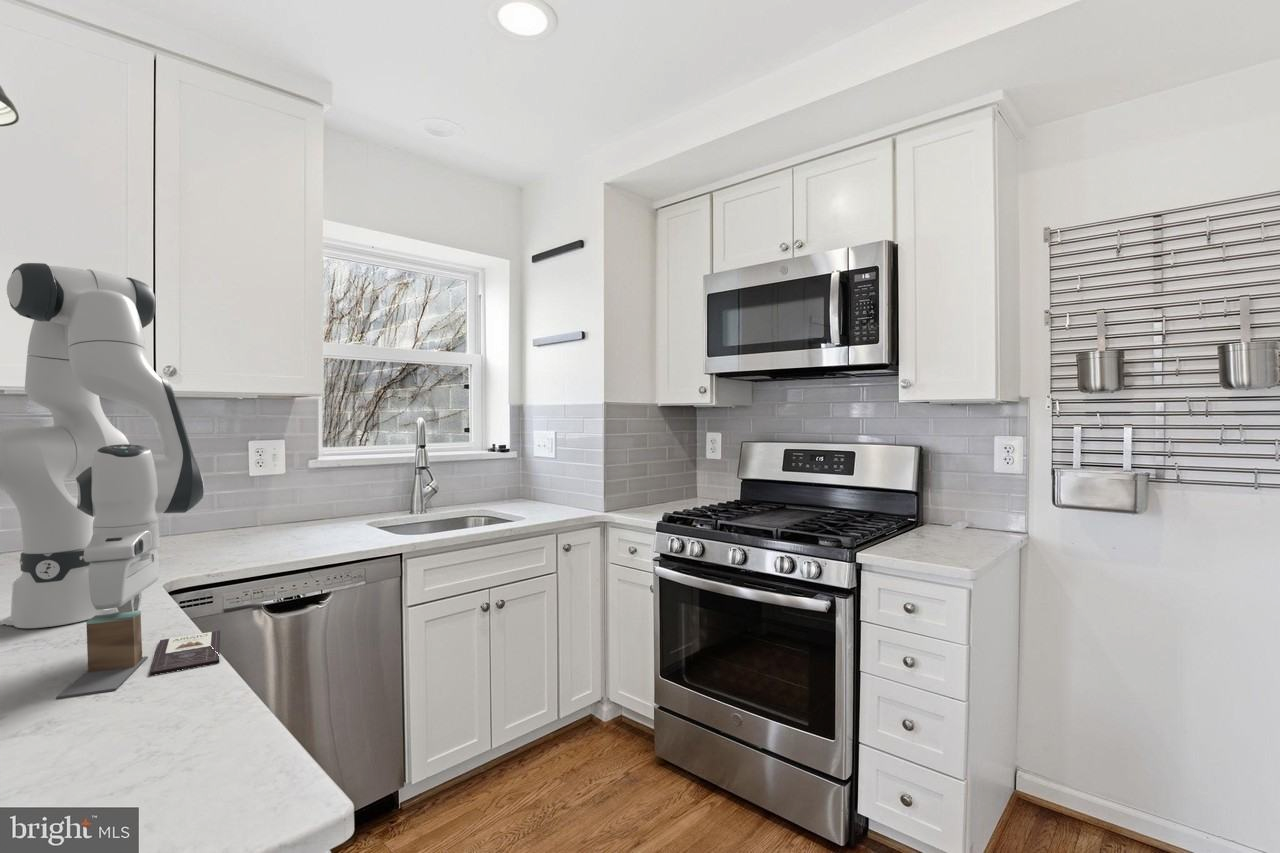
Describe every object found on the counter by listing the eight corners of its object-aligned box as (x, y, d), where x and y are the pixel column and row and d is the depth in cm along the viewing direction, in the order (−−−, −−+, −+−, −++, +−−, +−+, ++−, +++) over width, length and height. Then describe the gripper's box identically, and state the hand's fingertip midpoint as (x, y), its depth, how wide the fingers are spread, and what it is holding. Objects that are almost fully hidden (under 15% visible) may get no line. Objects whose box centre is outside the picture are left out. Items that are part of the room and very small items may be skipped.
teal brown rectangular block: (97, 664, 105) (95, 615, 105) (142, 658, 107) (140, 610, 107) (88, 672, 102) (86, 621, 102) (134, 666, 104) (133, 616, 104)
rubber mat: (95, 664, 106) (95, 662, 106) (147, 657, 108) (147, 656, 108) (56, 698, 93) (56, 696, 93) (116, 690, 95) (116, 688, 95)
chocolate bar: (150, 672, 101) (160, 640, 116) (150, 678, 101) (160, 645, 116) (219, 659, 106) (220, 630, 121) (219, 665, 106) (220, 635, 121)
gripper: (126, 532, 119) (129, 607, 119) (78, 553, 100) (81, 642, 100) (167, 529, 121) (170, 603, 121) (128, 549, 102) (131, 636, 103)
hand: (129, 621), depth 111 cm, fingers closed
